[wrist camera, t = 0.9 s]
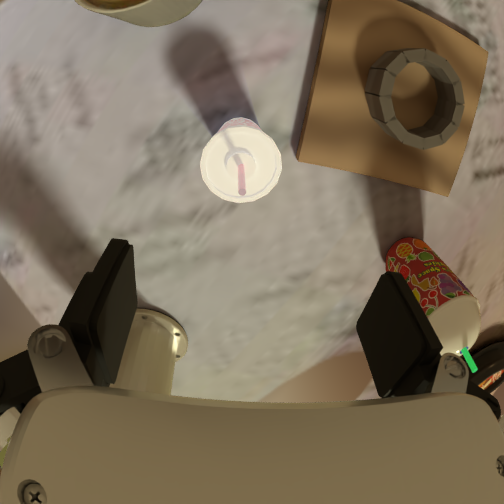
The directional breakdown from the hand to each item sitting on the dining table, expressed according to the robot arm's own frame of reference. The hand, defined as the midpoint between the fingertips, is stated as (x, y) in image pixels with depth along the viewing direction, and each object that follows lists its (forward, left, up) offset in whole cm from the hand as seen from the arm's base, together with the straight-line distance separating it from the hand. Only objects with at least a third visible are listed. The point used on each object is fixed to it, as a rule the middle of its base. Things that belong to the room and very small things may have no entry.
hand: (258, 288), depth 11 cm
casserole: (-39, -65, -23) cm, 79 cm away
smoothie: (-11, -24, -23) cm, 35 cm away
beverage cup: (0, 0, -23) cm, 23 cm away
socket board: (+9, -16, -23) cm, 29 cm away
